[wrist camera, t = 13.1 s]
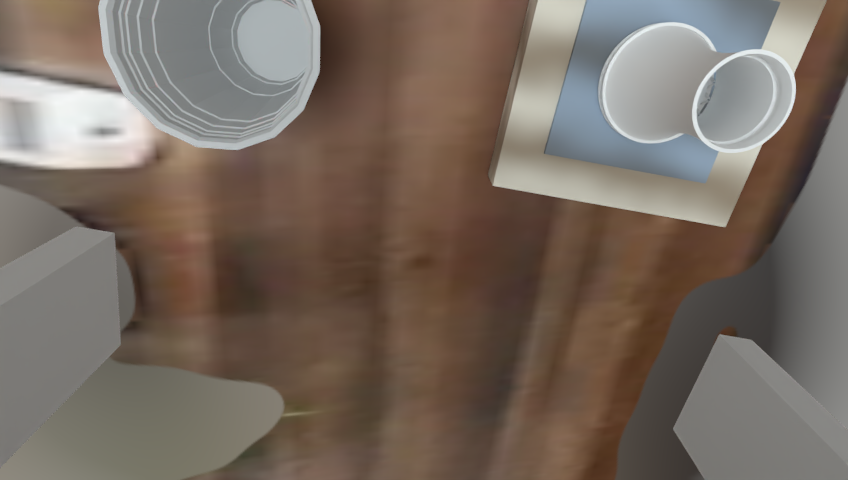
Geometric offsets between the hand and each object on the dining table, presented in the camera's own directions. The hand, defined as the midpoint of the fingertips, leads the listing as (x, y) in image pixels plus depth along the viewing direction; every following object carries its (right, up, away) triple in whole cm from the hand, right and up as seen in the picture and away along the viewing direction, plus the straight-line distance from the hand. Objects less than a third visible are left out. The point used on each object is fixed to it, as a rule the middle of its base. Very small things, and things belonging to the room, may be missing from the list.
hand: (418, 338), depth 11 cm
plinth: (+16, +14, +25) cm, 33 cm away
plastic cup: (-10, +17, +24) cm, 31 cm away
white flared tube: (+15, +13, +22) cm, 30 cm away
